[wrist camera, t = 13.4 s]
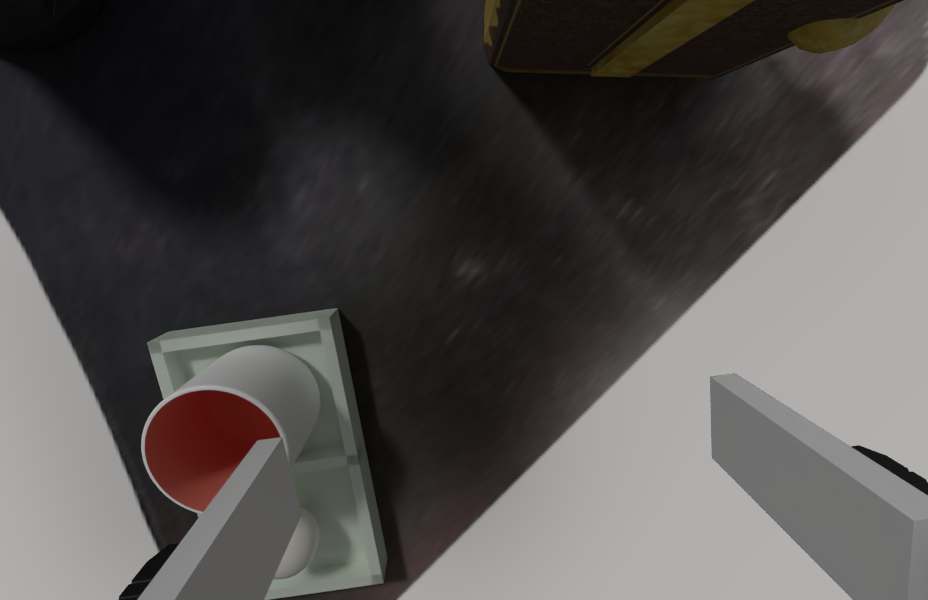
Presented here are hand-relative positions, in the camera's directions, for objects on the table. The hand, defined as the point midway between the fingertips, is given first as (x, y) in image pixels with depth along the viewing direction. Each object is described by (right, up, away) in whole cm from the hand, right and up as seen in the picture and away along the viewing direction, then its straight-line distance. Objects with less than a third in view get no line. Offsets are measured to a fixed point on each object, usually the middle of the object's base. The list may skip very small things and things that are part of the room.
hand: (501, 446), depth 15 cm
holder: (-18, -10, +31) cm, 37 cm away
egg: (-17, -16, +31) cm, 39 cm away
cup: (-19, -4, +29) cm, 34 cm away
